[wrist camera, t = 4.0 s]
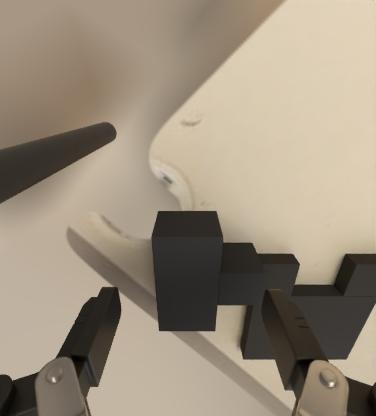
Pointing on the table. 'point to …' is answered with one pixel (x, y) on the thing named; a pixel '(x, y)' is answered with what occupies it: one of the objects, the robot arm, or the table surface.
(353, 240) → the table surface
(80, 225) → the table surface
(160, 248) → the black t-shaped block
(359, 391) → the robot arm
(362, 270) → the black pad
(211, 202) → the table surface
